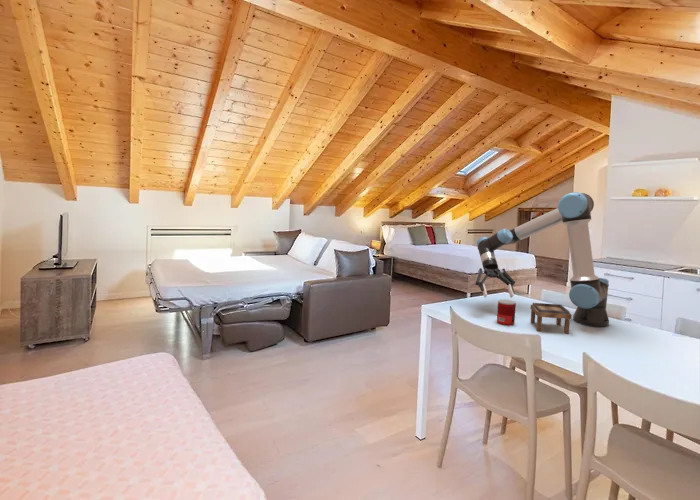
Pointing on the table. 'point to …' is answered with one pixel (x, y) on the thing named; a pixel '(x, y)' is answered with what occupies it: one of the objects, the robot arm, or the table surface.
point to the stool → (550, 314)
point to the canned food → (506, 312)
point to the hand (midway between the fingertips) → (498, 296)
